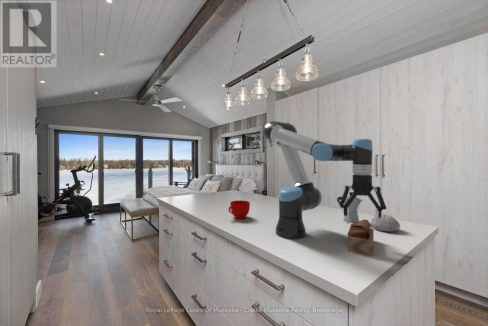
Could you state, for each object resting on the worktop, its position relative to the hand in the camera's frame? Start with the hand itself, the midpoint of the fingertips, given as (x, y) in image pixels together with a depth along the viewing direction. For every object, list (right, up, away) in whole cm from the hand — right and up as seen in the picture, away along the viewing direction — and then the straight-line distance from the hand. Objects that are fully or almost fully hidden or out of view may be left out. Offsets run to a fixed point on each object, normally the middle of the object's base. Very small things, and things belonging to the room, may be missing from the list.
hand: (361, 224), depth 92 cm
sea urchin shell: (+25, -10, +22) cm, 35 cm away
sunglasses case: (0, -4, +2) cm, 5 cm away
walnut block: (0, -10, 0) cm, 10 cm away
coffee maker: (+14, -9, +38) cm, 42 cm away
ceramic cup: (-56, -9, +44) cm, 72 cm away
